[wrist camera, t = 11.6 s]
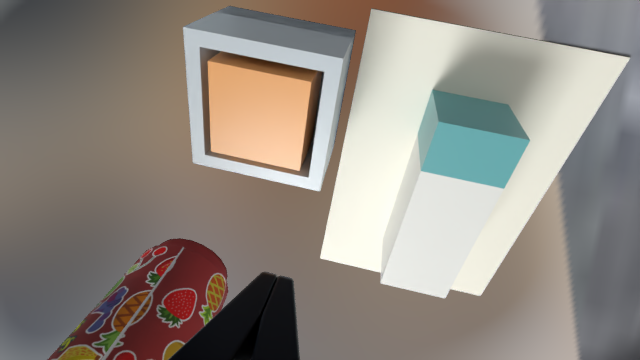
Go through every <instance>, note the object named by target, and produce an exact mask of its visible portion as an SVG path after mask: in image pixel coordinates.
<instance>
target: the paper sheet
mask: <svg viewBox="0 0 640 360" xmlns="http://www.w3.org/2000/svg"><path fill="white" fill-rule="evenodd" d="M629 59H630V57H625V56H620V55H614V54H609V53H604V52H599V51H593V50H588V49H583V48H577V47H572V46H567V45H561V44H556V43H551V42H546V41H542V40H537V39H531V38H527V37H521V36H516V35H510V34H506V33H500V32H495V31H489V30H484V29H479V28H474V27H468V26H463V25H458V24H452V23H447V22H442V21H437V20H431V19H426V18H421V17H415V16H410V15H405V14H399V13H394V12H389V11H383V10H378V9H373V8H372V9H371V13H370V18H369V23H368V28H367V33H366V38H365V43H364V47H363V52H362V57H361V62H360V67H359V72H358V77H357V82H356V87H355V91H354V96H353V101H352V106H351V111H350V116H349V120H348V125H347V130H346V135H345V140H344V145H343V150H342V155H341V160H340V165H339V169H338V174H337V179H336V184H335V189H334V194H333V198H332V203H331V208H330V213H329V218H328V223H327V227H326V233H325V238H324V242H323V247H322V252H321V258H322V259H326V260H330V261H334V262H338V263H342V264H347V265H351V266H356V267H359V268H364V269H368V270H372V271H376V272H381V262H382V244H383V237H384V234H385V231H386V228H387V225H388V221H389V218H390V215H391V212H392V209H393V206H394V203H395V200H396V197H397V194H398V191H399V188H400V185H401V182H402V179H403V176H404V173H405V170H406V167H407V164H408V161H409V158H410V155H411V152H412V149H413V146H414V143H415V140H416V137H417V134H418V131H419V128H420V125H421V122H422V119H423V116H424V113H425V110H426V107H427V104H428V101H429V98H430V95H431V92H432V90H437V91H442V92H447V93H452V94H457V95H462V96H467V97H472V98H478V99H483V100H488V101H493V102H498V103H503V104H508V105H509V107H510V108H511V110H512V111H513V113H514V115H515V116H516V118H517V120H518V121H519V123H520V124H521V126H522V128H523V129H524V131H525V133H526V134H527V136H528V137H529V139H530V142H529V144H528V146H527V147H526V149H525V151H524V153H523V155H522V157H521V159H520V160H519V162H518V164H517V166H516V168H515V170H514V171H513V173H512V175H511V177H510V179H509V181H508V183H507V184H506V186H505V188H504V190H503V192H502V194H501V196H500V197H499V199H498V201H497V203H496V205H495V207H494V209H493V210H492V212H491V214H490V216H489V218H488V220H487V222H486V223H485V225H484V227H483V229H482V231H481V233H480V235H479V236H478V238H477V240H476V242H475V244H474V246H473V247H472V249H471V251H470V253H469V255H468V257H467V259H466V260H465V262H464V264H463V266H462V268H461V270H460V272H459V273H458V275H457V277H456V279H455V281H454V283H453V285H452V286H451V288H450V289H453V290H457V291H461V292H466V293H470V294H474V295H478V296H480V295H481V294H482V292H483V291H484V289H485V288H486V286H487V284H488V283H489V281H490V280H491V278H492V277H493V275H494V273H495V272H496V270H497V269H498V267H499V265H500V264H501V262H502V261H503V259H504V257H505V256H506V254H507V253H508V251H509V250H510V248H511V247H512V245H513V243H514V241H515V240H516V238H517V237H518V235H519V234H520V232H521V231H522V229H523V227H524V226H525V224H526V223H527V221H528V220H529V218H530V216H531V215H532V213H533V211H534V210H535V208H536V207H537V205H538V203H539V202H540V200H541V199H542V197H543V196H544V194H545V193H546V191H547V189H548V188H549V186H550V185H551V183H552V181H553V180H554V178H555V177H556V175H557V174H558V172H559V170H560V169H561V167H562V166H563V164H564V162H565V161H566V159H567V158H568V156H569V154H570V153H571V151H572V150H573V148H574V147H575V145H576V143H577V142H578V140H579V139H580V137H581V135H582V134H583V132H584V131H585V129H586V127H587V126H588V124H589V123H590V121H591V120H592V118H593V116H594V115H595V113H596V112H597V110H598V108H599V107H600V105H601V104H602V102H603V100H604V99H605V97H606V96H607V94H608V93H609V91H610V89H611V88H612V86H613V85H614V83H615V81H616V80H617V78H618V77H619V75H620V74H621V72H622V70H623V69H624V67H625V66H626V64H627V62H628V61H629Z"/></svg>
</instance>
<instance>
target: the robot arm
mask: <svg viewBox="0 0 640 360" xmlns="http://www.w3.org/2000/svg"><path fill="white" fill-rule="evenodd" d="M296 318H297V317H296V305H295V292H294V281H293V279H292V278H288V277H285V276H279V277H278V276H277V275H276V274H273V273H269V272H262V273H261V274H260V275H259V276H257V277H256V278H255V279H254V280H253V281H252V282H251V283H250V284H249V285H248V286H247V287H246V288H245V289H244V290H242V291H241V292H240V293H239V294H238V295H237V296H236V297H235V298H234V299H233V300H232V301H231V302H230V303H228V304H227V305H226V306H225V307H224V308H223V309H222V310H221V311H220V312H219V313H218V314H217V315H215V316H214V317H213V318H212V319H211V320H210V321H209V322H208V323H207V324H206V325H205V326H204V327H203V328H201V329H200V330H199V331H198V332H197V333H196V334H195V335H194V336H193V337H192V338H191V339H190V340H189V341H188V342H186V343H185V344H184V345H183V346H182V347H181V348H180V349H179V350H178V351H177V352H176V353H175V354H174V355H172V356H171V357H170V358H169V359H168V360H300V356H299V344H298V330H297V319H296Z"/></svg>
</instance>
